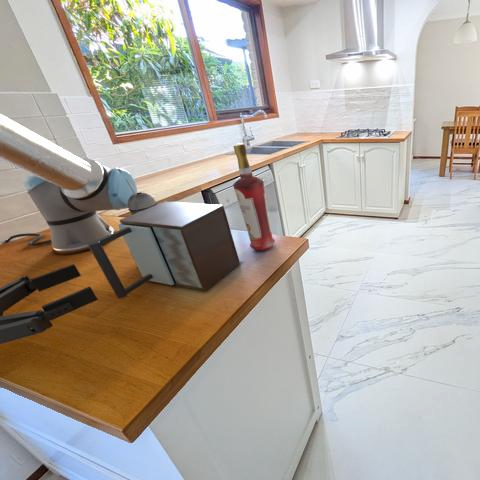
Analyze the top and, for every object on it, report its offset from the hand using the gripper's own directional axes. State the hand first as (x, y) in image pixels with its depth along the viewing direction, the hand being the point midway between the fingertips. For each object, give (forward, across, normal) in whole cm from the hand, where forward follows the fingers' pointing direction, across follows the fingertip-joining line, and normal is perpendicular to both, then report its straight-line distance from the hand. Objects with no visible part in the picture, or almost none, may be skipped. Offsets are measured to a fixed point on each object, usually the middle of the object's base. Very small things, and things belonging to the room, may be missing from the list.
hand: (85, 280), depth 56 cm
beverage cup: (+20, -28, -9) cm, 36 cm away
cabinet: (+19, 0, -8) cm, 21 cm away
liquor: (+36, +4, -9) cm, 38 cm away
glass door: (+7, 0, -8) cm, 11 cm away
